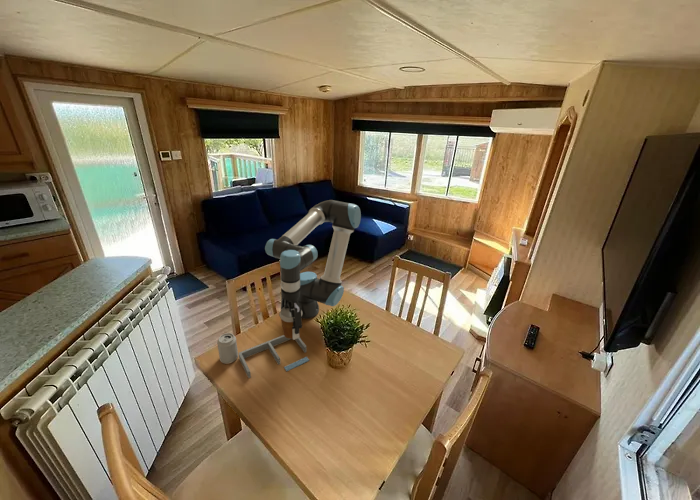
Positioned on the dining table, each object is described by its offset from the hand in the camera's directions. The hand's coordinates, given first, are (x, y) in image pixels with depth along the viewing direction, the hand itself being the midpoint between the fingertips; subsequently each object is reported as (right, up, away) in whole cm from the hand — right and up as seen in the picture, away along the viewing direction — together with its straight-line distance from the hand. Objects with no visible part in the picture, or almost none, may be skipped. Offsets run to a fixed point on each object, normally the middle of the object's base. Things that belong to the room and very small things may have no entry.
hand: (291, 332), depth 121 cm
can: (-28, -13, +3) cm, 31 cm away
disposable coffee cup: (0, -1, 0) cm, 1 cm away
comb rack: (-9, -12, +6) cm, 17 cm away
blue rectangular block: (+2, -15, +3) cm, 15 cm away
